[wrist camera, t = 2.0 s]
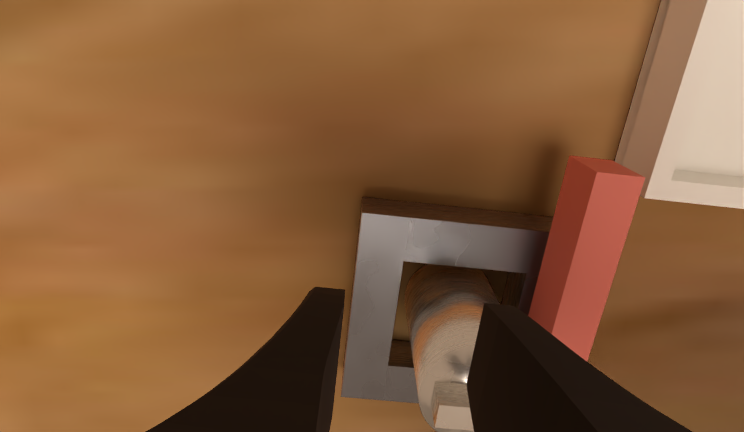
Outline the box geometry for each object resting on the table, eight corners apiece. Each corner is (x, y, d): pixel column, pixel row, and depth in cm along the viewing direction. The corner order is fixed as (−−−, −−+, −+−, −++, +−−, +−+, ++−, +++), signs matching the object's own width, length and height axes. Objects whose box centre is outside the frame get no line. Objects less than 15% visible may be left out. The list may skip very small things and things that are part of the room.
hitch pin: (498, 262, 20) (562, 374, 14) (481, 337, 21) (533, 472, 15) (410, 253, 20) (433, 362, 13) (399, 330, 21) (413, 463, 15)
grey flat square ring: (564, 218, 19) (583, 235, 18) (520, 384, 22) (533, 412, 20) (362, 196, 19) (362, 212, 17) (342, 368, 22) (341, 396, 20)
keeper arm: (544, 463, 20) (562, 506, 18) (472, 457, 20) (483, 501, 18) (636, 163, 16) (672, 180, 14) (544, 152, 16) (568, 169, 14)
